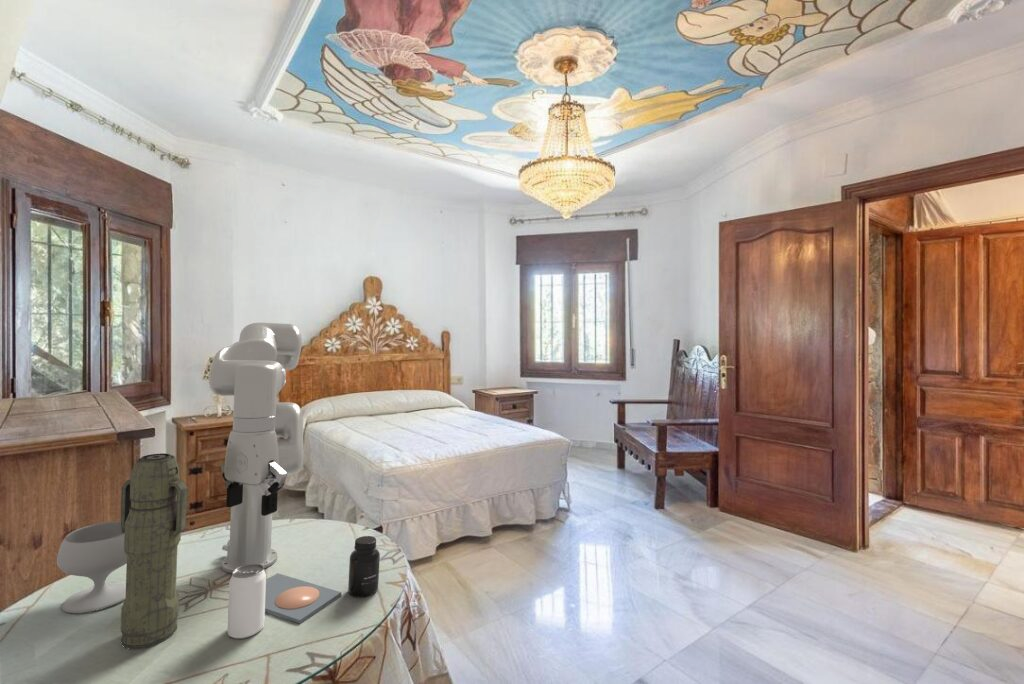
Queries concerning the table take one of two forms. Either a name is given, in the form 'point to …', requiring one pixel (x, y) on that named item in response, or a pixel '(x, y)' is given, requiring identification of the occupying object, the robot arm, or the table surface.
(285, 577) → the card
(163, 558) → the thermos
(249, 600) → the can
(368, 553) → the supplement bottle
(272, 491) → the robot arm
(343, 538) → the table surface
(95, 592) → the chalice
